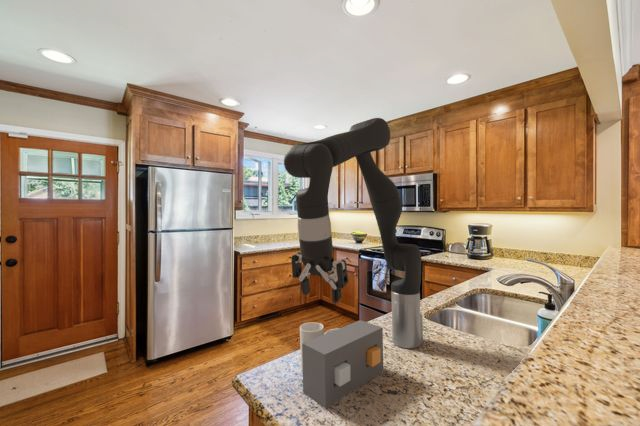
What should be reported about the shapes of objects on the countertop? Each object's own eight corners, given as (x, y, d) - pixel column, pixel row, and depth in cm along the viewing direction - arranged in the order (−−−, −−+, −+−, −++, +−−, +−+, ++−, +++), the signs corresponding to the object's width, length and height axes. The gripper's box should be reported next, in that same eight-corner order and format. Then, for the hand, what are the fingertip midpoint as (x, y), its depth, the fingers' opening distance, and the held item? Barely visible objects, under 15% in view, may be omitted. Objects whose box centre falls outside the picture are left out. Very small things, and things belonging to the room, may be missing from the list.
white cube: (339, 374, 69) (339, 359, 69) (350, 380, 67) (350, 364, 67) (329, 380, 67) (328, 364, 67) (339, 386, 64) (339, 370, 64)
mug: (328, 372, 78) (327, 328, 78) (305, 378, 75) (304, 333, 75) (314, 356, 87) (313, 317, 87) (293, 361, 84) (292, 320, 84)
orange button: (370, 357, 77) (369, 344, 77) (380, 362, 75) (380, 348, 75) (361, 362, 75) (361, 348, 75) (372, 367, 72) (372, 352, 72)
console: (360, 360, 84) (359, 320, 84) (383, 371, 78) (382, 327, 78) (303, 392, 69) (302, 343, 69) (325, 408, 63) (324, 354, 63)
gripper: (350, 232, 64) (354, 296, 68) (299, 226, 71) (305, 284, 75) (334, 243, 58) (339, 313, 62) (280, 235, 65) (288, 298, 69)
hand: (321, 297), depth 68 cm, fingers open, 8 cm apart
